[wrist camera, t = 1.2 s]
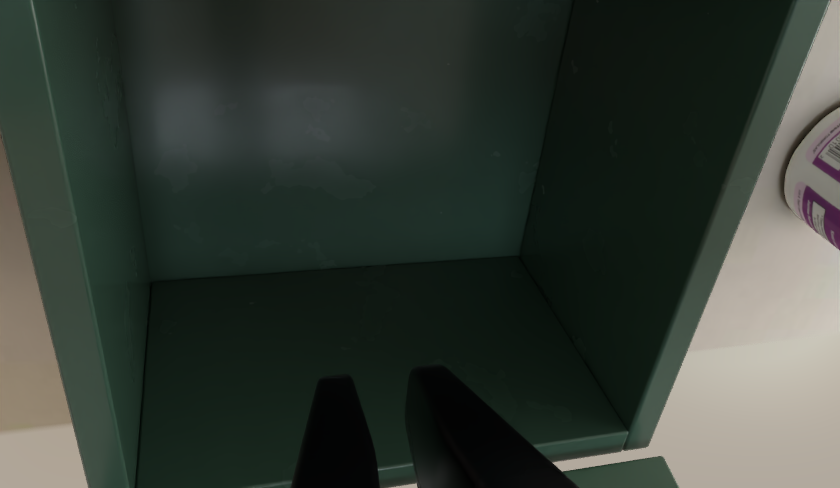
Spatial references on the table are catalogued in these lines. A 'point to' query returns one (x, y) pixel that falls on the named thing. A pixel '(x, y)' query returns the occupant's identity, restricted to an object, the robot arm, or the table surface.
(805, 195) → the pill bottle
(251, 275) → the bin
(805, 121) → the table surface
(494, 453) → the robot arm
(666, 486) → the bin lid
